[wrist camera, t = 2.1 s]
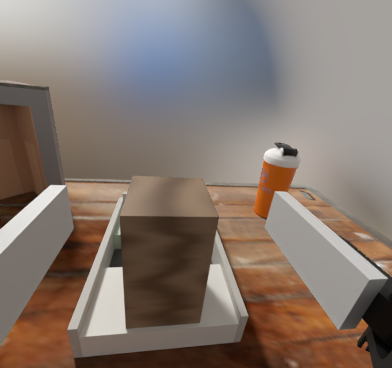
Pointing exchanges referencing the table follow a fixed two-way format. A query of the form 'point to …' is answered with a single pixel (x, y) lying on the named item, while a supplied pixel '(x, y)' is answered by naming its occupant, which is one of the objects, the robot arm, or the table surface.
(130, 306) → the walnut block
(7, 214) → the table surface
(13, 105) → the cabinet
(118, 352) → the box
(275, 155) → the shaker bottle
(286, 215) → the robot arm
